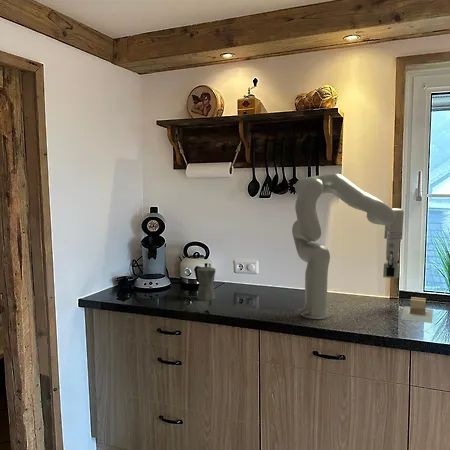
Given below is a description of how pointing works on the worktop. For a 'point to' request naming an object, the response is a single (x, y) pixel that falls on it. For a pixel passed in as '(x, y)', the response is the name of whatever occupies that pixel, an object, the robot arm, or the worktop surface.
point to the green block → (396, 270)
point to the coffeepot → (205, 282)
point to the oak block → (417, 305)
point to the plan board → (417, 315)
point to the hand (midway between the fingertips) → (390, 274)
